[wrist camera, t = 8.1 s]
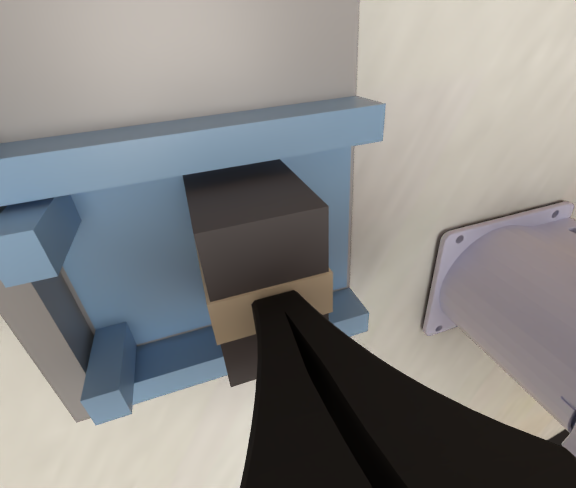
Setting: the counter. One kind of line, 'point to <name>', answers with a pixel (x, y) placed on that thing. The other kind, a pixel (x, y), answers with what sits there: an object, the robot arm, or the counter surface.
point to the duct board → (157, 173)
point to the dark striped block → (256, 250)
